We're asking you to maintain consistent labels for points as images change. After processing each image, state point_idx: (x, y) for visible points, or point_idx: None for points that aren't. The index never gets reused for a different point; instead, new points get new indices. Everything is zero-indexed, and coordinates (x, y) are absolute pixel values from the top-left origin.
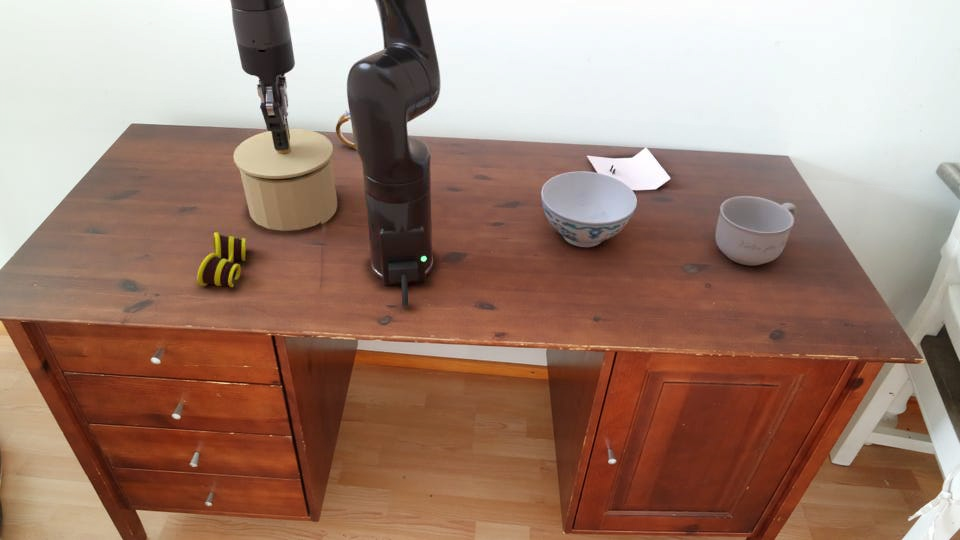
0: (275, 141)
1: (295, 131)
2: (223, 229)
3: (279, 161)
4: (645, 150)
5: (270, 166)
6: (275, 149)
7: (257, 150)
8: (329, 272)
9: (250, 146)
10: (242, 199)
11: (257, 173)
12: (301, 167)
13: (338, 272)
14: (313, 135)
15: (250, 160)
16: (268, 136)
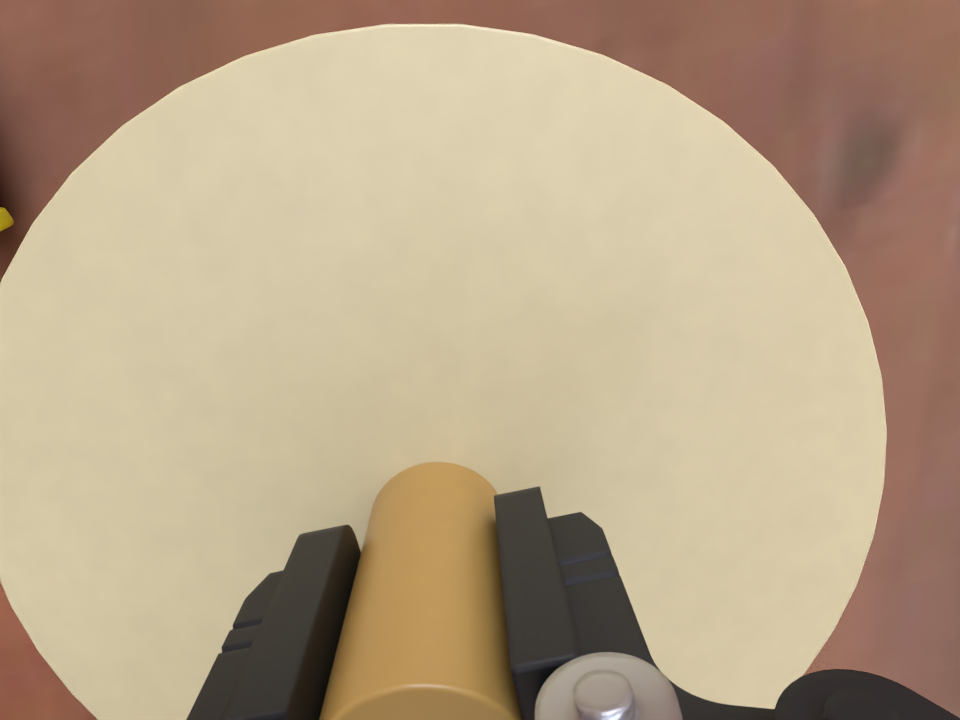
0: (222, 647)
1: (819, 524)
2: (204, 18)
3: (240, 536)
4: None
5: (132, 489)
6: (303, 535)
7: (412, 282)
8: (5, 596)
9: (495, 179)
10: (516, 30)
11: None
12: (181, 714)
13: (15, 626)
14: (734, 678)
15: (196, 275)
16: (721, 306)
